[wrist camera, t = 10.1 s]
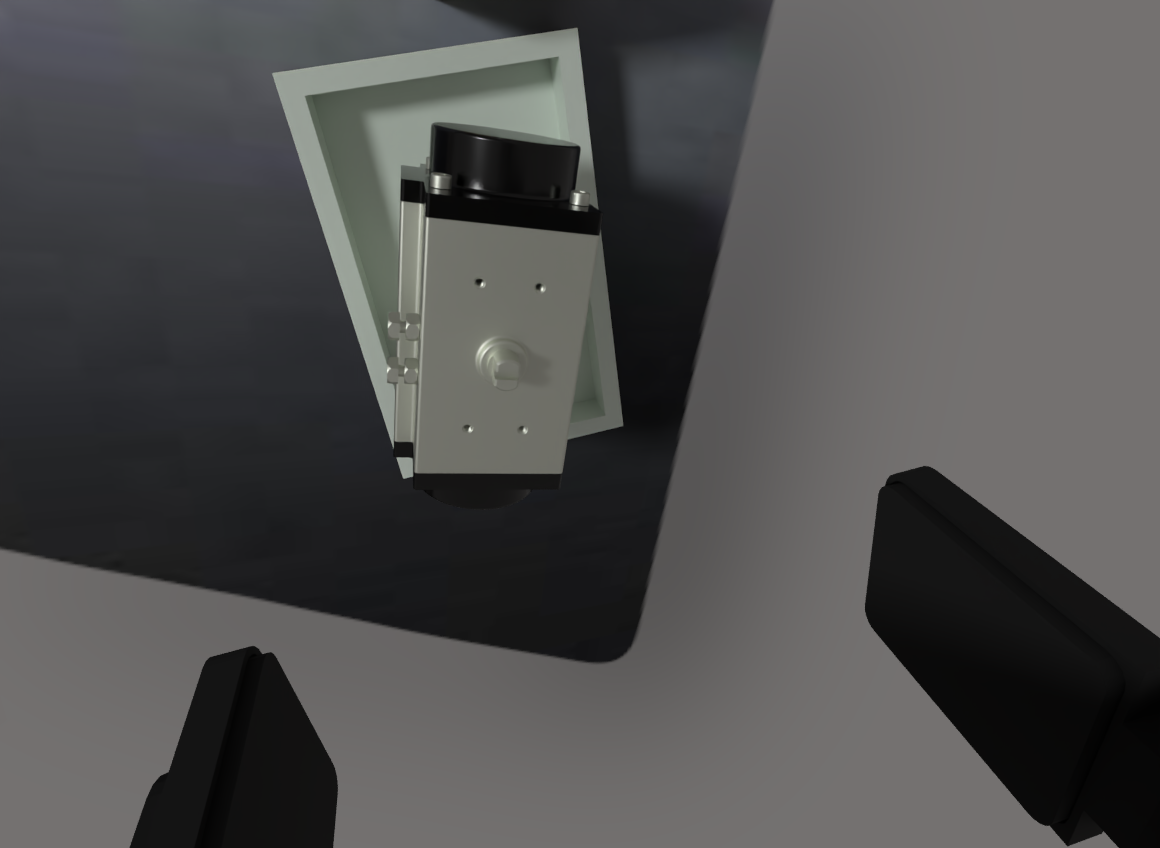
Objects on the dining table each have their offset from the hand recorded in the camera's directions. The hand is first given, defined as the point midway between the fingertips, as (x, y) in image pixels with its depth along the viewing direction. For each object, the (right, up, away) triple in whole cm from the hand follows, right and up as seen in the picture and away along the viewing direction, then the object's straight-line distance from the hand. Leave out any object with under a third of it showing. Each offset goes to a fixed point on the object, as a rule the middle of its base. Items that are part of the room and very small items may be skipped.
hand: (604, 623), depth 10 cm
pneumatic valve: (-6, +10, +18) cm, 22 cm away
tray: (-5, +10, +19) cm, 22 cm away
